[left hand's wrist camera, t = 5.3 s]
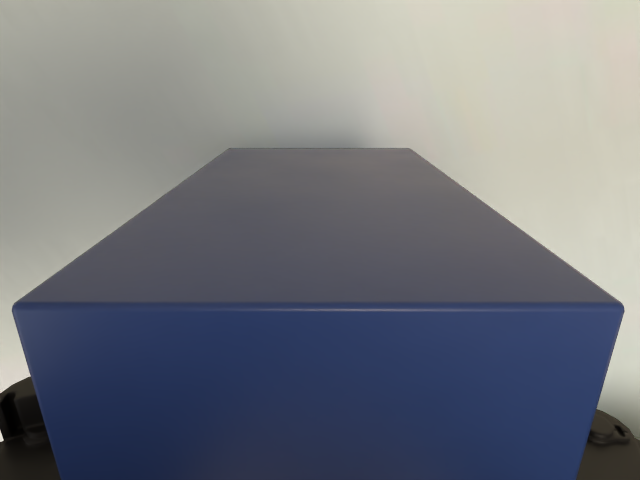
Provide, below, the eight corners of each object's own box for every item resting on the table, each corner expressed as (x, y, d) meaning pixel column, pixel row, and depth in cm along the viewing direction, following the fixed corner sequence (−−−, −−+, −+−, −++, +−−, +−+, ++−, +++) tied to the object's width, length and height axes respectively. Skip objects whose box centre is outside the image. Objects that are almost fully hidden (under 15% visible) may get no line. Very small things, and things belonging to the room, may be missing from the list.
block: (243, 353, 19) (134, 740, 8) (227, 147, 16) (5, 305, 5) (395, 353, 19) (503, 740, 8) (410, 147, 16) (630, 305, 5)
